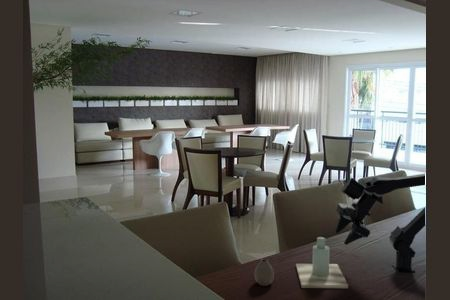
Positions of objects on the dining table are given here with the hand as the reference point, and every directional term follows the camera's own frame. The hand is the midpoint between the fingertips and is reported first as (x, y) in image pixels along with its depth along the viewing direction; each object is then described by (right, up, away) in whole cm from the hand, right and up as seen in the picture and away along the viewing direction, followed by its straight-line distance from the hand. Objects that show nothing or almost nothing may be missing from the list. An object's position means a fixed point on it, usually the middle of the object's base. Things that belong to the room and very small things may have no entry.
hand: (340, 238), depth 157 cm
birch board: (-10, -13, -8) cm, 18 cm away
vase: (-31, -14, -13) cm, 36 cm away
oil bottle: (-10, -11, -8) cm, 17 cm away
